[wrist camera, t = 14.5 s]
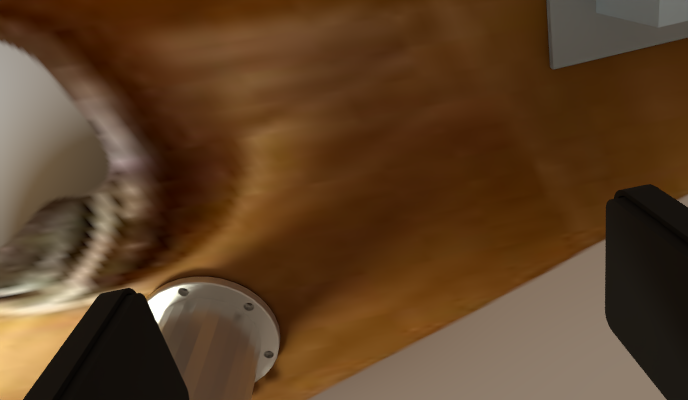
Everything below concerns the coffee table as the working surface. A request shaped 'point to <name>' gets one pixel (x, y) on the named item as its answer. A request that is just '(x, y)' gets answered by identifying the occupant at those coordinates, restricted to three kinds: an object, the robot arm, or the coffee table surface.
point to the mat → (598, 33)
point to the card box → (646, 11)
